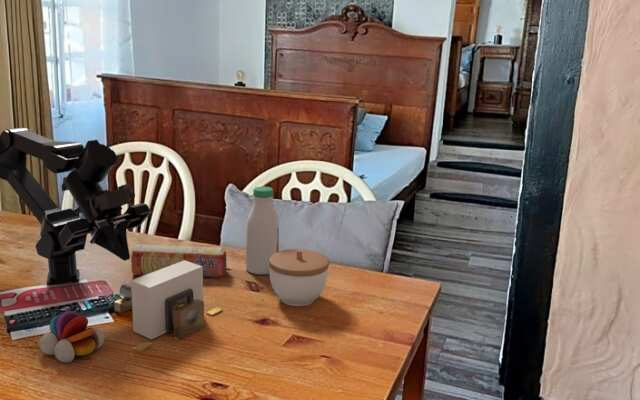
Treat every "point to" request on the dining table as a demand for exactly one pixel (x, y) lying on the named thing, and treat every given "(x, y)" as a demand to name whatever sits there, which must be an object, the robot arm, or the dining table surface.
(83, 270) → the dining table surface
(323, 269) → the lidded bowl
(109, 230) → the robot arm
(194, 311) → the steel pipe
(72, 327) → the rainbow petal fan
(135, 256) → the snack package
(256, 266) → the milk bottle
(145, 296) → the sleeve
